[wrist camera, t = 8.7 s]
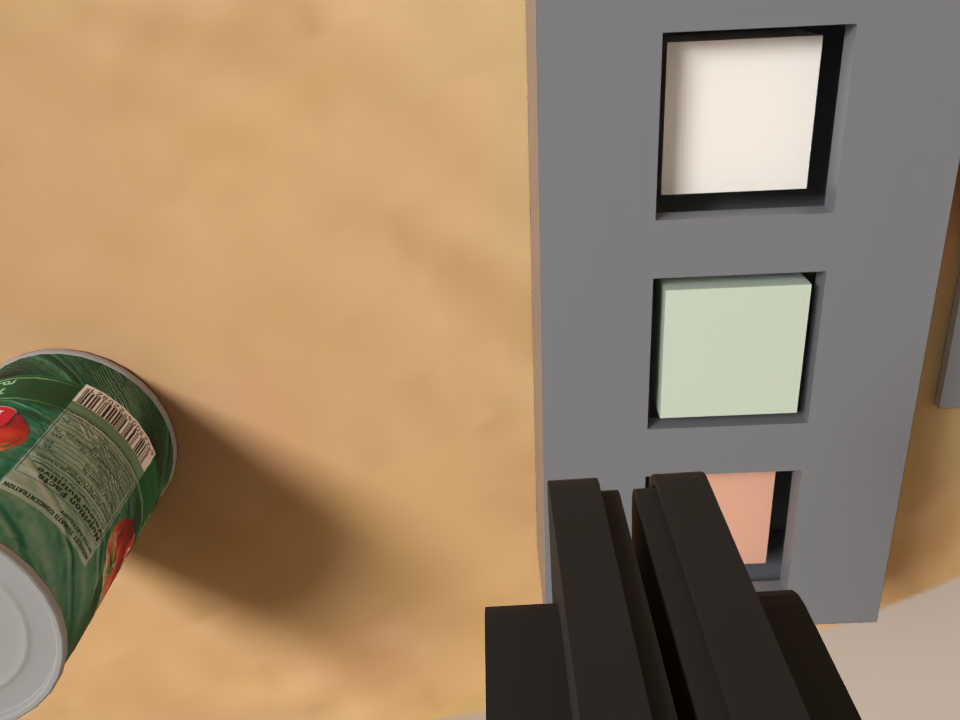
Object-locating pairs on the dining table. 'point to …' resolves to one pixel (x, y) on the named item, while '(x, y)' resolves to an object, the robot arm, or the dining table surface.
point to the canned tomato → (68, 504)
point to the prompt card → (951, 361)
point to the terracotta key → (745, 509)
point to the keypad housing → (744, 269)
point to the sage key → (728, 344)
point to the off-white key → (737, 110)
